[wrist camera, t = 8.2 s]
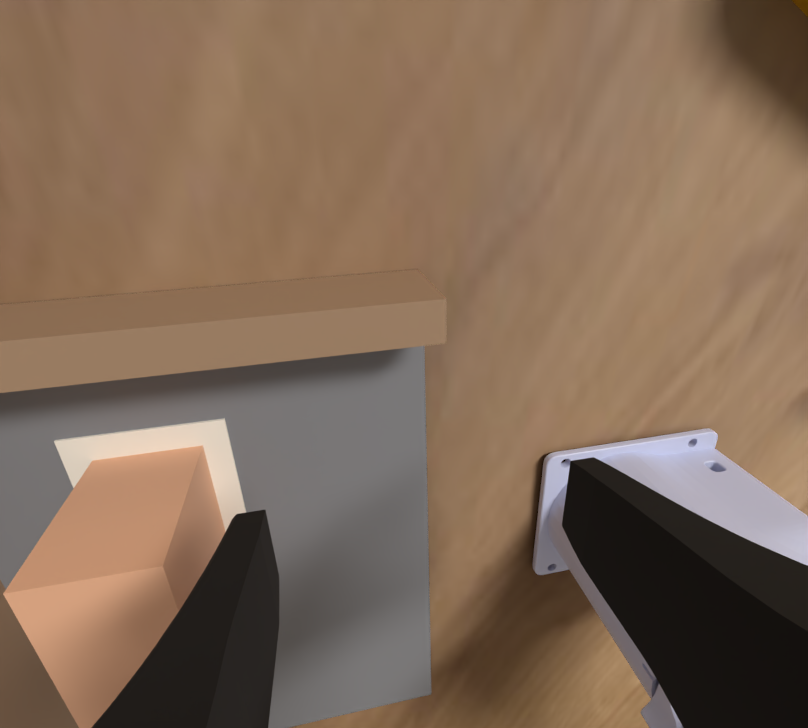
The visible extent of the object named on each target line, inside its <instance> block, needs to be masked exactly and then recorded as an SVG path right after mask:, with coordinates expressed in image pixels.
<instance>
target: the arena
mask: <svg viewBox="0 0 808 728" xmlns="http://www.w3.org/2000/svg"><path fill="white" fill-rule="evenodd" d="M437 344H446V298H445V297H444V296H443V295H442V294H441V293H440V292H439V291H438V290H437V288H436V287H435V286H434V285H433V284H432V283H431V282H430V281H429V280H428V279H427V278H426V277H425V276H424V275H423V274H422V273H421V272H420V271H419V270H418V269H416V270H404V271H392V272H380V273H368V274H356V275H345V276H333V277H321V278H309V279H297V280H285V281H274V282H262V283H250V284H238V285H226V286H214V287H202V288H191V289H179V290H167V291H155V292H143V293H131V294H120V295H108V296H96V297H84V298H72V299H60V300H49V301H37V302H25V303H13V304H1V305H0V728H79V727H78V725H77V723H76V722H75V720H74V718H73V716H72V715H71V713H70V711H69V709H68V707H67V706H66V704H65V702H64V700H63V699H62V697H61V695H60V693H59V692H58V690H57V688H56V686H55V685H54V683H53V681H52V679H51V678H50V676H49V674H48V672H47V670H46V669H45V667H44V665H43V663H42V662H41V660H40V658H39V656H38V655H37V653H36V651H35V649H34V648H33V646H32V644H31V642H30V641H29V639H28V637H27V635H26V633H25V632H24V630H23V628H22V626H21V625H20V623H19V621H18V619H17V618H16V616H15V614H14V612H13V611H12V609H11V607H10V605H9V604H8V602H7V600H6V598H5V596H4V595H3V593H4V592H5V590H6V589H7V587H8V586H9V584H10V583H11V581H12V580H13V578H14V577H15V575H16V574H17V572H18V571H19V569H20V568H21V566H22V565H23V563H24V562H25V560H26V559H27V557H28V556H29V554H30V553H31V551H32V550H33V548H34V547H35V545H36V544H37V542H38V541H39V539H40V538H41V536H42V535H43V533H44V532H45V530H46V529H47V527H48V526H49V524H50V523H51V521H52V520H53V519H54V517H55V516H56V514H57V513H58V511H59V510H60V508H61V507H62V505H63V504H64V502H65V501H66V499H67V498H68V496H69V495H70V493H71V492H72V490H73V489H74V487H75V486H76V484H77V483H78V481H79V480H80V478H81V477H82V475H83V474H84V472H85V471H86V469H87V468H88V466H89V465H90V463H91V462H92V461H93V460H100V459H108V458H115V457H122V456H130V455H137V454H144V453H151V452H159V451H166V450H173V449H180V448H188V447H195V446H202V445H203V448H204V452H205V455H206V459H207V463H208V467H209V471H210V474H211V478H212V482H213V486H214V490H215V493H216V497H217V501H218V505H219V509H220V513H221V516H222V520H223V524H224V528H225V532H226V530H227V528H228V526H229V524H230V522H231V520H232V519H233V518H234V516H235V515H236V514H240V513H246V512H252V511H259V510H266V515H267V519H268V524H269V529H270V534H271V539H272V544H273V548H274V553H275V558H276V563H277V568H278V573H279V632H278V642H277V651H276V661H275V670H274V679H273V688H272V697H271V706H270V715H269V724H268V728H289V727H293V726H297V725H302V724H306V723H310V722H314V721H319V720H323V719H327V718H332V717H336V716H340V715H345V714H349V713H353V712H357V711H362V710H366V709H370V708H375V707H379V706H383V705H387V704H392V703H396V702H400V701H405V700H409V699H413V698H418V697H422V696H426V695H430V694H431V650H430V601H429V552H428V503H427V453H426V404H425V355H424V346H428V345H437Z"/></svg>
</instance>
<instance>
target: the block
mask: <svg viewBox="0 0 808 728" xmlns="http://www.w3.org/2000/svg"><path fill="white" fill-rule="evenodd" d="M224 534H225V528H224V524H223V520H222V516H221V513H220V509H219V505H218V501H217V497H216V493H215V490H214V486H213V482H212V478H211V474H210V471H209V467H208V463H207V459H206V455H205V452H204V448H203V445H202V446H195V447H188V448H180V449H173V450H166V451H159V452H151V453H144V454H137V455H130V456H122V457H115V458H108V459H100V460H93V461H92V462H91V463H90V465H89V466H88V468H87V469H86V471H85V472H84V474H83V475H82V477H81V478H80V480H79V481H78V483H77V484H76V486H75V487H74V489H73V490H72V492H71V493H70V495H69V496H68V498H67V499H66V501H65V502H64V504H63V505H62V507H61V508H60V510H59V511H58V513H57V514H56V516H55V517H54V519H53V520H52V521H51V523H50V524H49V526H48V527H47V529H46V530H45V532H44V533H43V535H42V536H41V538H40V539H39V541H38V542H37V544H36V545H35V547H34V548H33V550H32V551H31V553H30V554H29V556H28V557H27V559H26V560H25V562H24V563H23V565H22V566H21V568H20V569H19V571H18V572H17V574H16V575H15V577H14V578H13V580H12V581H11V583H10V584H9V586H8V587H7V589H6V590H5V592H4V593H3V595H4V596H5V598H6V600H7V602H8V604H9V605H10V607H11V609H12V611H13V612H14V614H15V616H16V618H17V619H18V621H19V623H20V625H21V626H22V628H23V630H24V632H25V633H26V635H27V637H28V639H29V641H30V642H31V644H32V646H33V648H34V649H35V651H36V653H37V655H38V656H39V658H40V660H41V662H42V663H43V665H44V667H45V669H46V670H47V672H48V674H49V676H50V678H51V679H52V681H53V683H54V685H55V686H56V688H57V690H58V692H59V693H60V695H61V697H62V699H63V700H64V702H65V704H66V706H67V707H68V709H69V711H70V713H71V715H72V716H73V718H74V720H75V722H76V723H77V725H78V727H79V728H92V726H93V725H94V724H95V723H96V722H97V720H98V719H99V718H100V717H101V716H102V714H103V713H104V712H105V711H106V710H107V708H108V707H109V706H110V705H111V704H112V702H113V701H114V700H115V699H116V697H117V696H118V695H119V693H120V692H121V691H122V690H123V688H124V687H125V686H126V684H127V683H128V682H129V681H130V679H131V678H132V677H133V675H134V674H135V673H136V671H137V670H138V669H139V667H140V666H141V665H142V663H143V662H144V661H145V659H146V658H147V657H148V655H149V654H150V652H151V651H152V650H153V648H154V647H155V645H156V644H157V643H158V641H159V640H160V638H161V637H162V635H163V634H164V632H165V631H166V629H167V628H168V626H169V625H170V623H171V622H172V620H173V619H174V618H175V616H176V615H177V613H178V612H179V610H180V609H181V607H182V606H183V604H184V602H185V601H186V599H187V598H188V596H189V594H190V593H191V591H192V590H193V588H194V586H195V585H196V583H197V581H198V580H199V578H200V576H201V575H202V573H203V572H204V570H205V568H206V566H207V565H208V563H209V561H210V559H211V558H212V556H213V554H214V552H215V551H216V549H217V547H218V545H219V543H220V542H221V540H222V538H223V536H224Z"/></svg>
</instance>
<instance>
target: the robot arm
mask: <svg viewBox="0 0 808 728" xmlns="http://www.w3.org/2000/svg"><path fill="white" fill-rule="evenodd" d="M717 438H718V435H717V433H716V432H714V431H713V430H711V429H700V430H694V431H688V432H681V433H675V434H668V435H662V436H655V437H649V438H642V439H636V440H630V441H623V442H617V443H610V444H604V445H597V446H591V447H584V448H578V449H572V450H565V451H559V452H553V453H550V454H549V455H547V456H546V458H545V459H544V462H543V471H542V480H541V490H540V499H539V508H538V518H537V527H536V536H535V546H534V555H533V564H532V566H533V569H534V571H535V573H536V574H538V575H545V574H550V573H555V572H560V571H565V570H570V572H571V573H572V575H573V576H574V578H575V580H576V581H577V583H578V584H579V586H580V587H581V589H582V591H583V592H584V594H585V595H586V597H587V598H588V600H589V602H590V603H591V605H592V606H593V608H594V610H595V611H596V613H597V614H598V616H599V617H600V619H601V621H602V622H603V624H604V625H605V627H606V628H607V630H608V632H609V633H610V635H611V636H612V638H613V639H614V641H615V643H616V644H617V646H618V647H619V649H620V651H621V652H622V654H623V655H624V657H625V658H626V660H627V662H628V663H629V665H630V666H631V668H632V669H633V671H634V673H635V674H636V676H637V677H638V679H639V680H640V682H641V684H642V685H643V687H644V688H645V690H646V692H647V693H648V695H649V696H650V698H651V700H650V702H649V703H648V704H647V705H646V706H645V707H644V708H643V709H642V710H641V714H642V716H643V718H644V719H645V721H646V723H647V724H648V726H649V728H808V516H807V515H805V514H804V513H803V512H801V511H800V510H799V509H797V508H796V507H794V506H793V505H792V504H790V503H789V502H788V501H786V500H785V499H784V498H782V497H781V496H779V495H778V494H777V493H775V492H774V491H773V490H771V489H770V488H768V487H767V486H766V485H764V484H763V483H762V482H760V481H759V480H757V479H756V478H755V477H753V476H752V475H751V474H749V473H748V472H746V471H745V470H744V469H742V468H741V467H740V466H738V465H737V464H735V463H734V462H733V461H731V460H730V459H729V458H727V457H726V456H724V455H723V454H722V453H720V452H719V451H718V450H716V449H715V446H716V442H717ZM565 459H566V460H565ZM563 460H565V461H564V462H563V463H561V462H562V461H563ZM278 632H279V573H278V568H277V563H276V558H275V553H274V548H273V544H272V539H271V534H270V529H269V524H268V519H267V515H266V510H259V511H252V512H246V513H240V514H236V515H235V516H234V518H233V519H232V520H231V522H230V524H229V526H228V528H227V530H226V532H225V534H224V536H223V538H222V540H221V542H220V543H219V545H218V547H217V549H216V551H215V552H214V554H213V556H212V558H211V559H210V561H209V563H208V565H207V566H206V568H205V570H204V572H203V573H202V575H201V576H200V578H199V580H198V581H197V583H196V585H195V586H194V588H193V590H192V591H191V593H190V594H189V596H188V598H187V599H186V601H185V602H184V604H183V606H182V607H181V609H180V610H179V612H178V613H177V615H176V616H175V618H174V619H173V620H172V622H171V623H170V625H169V626H168V628H167V629H166V631H165V632H164V634H163V635H162V637H161V638H160V640H159V641H158V643H157V644H156V645H155V647H154V648H153V650H152V651H151V652H150V654H149V655H148V657H147V658H146V659H145V661H144V662H143V663H142V665H141V666H140V667H139V669H138V670H137V671H136V673H135V674H134V675H133V677H132V678H131V679H130V681H129V682H128V683H127V684H126V686H125V687H124V688H123V690H122V691H121V692H120V693H119V695H118V696H117V697H116V699H115V700H114V701H113V702H112V704H111V705H110V706H109V707H108V708H107V710H106V711H105V712H104V713H103V714H102V716H101V717H100V718H99V719H98V720H97V722H96V723H95V724H94V725H93V726H92V728H268V724H269V715H270V706H271V697H272V688H273V679H274V670H275V661H276V651H277V642H278Z"/></svg>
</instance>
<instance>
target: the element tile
mask: <svg viewBox="0 0 808 728" xmlns="http://www.w3.org/2000/svg"><path fill="white" fill-rule="evenodd" d="M792 1H793V2H794V3H795V4H796V5H797V6H798V7H799V9H800V10H801V11H802V12H803V13H804V14H805V15H806V16H807V17H808V0H792Z"/></svg>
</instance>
